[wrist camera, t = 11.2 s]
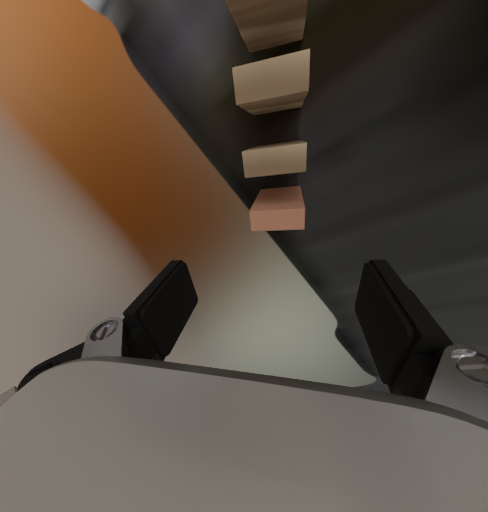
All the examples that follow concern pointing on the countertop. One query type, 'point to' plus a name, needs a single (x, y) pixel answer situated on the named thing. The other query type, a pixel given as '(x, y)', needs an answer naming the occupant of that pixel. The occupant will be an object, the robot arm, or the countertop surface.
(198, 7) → the countertop surface
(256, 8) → the domino
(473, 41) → the countertop surface
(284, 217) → the domino
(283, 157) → the domino
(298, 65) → the domino
